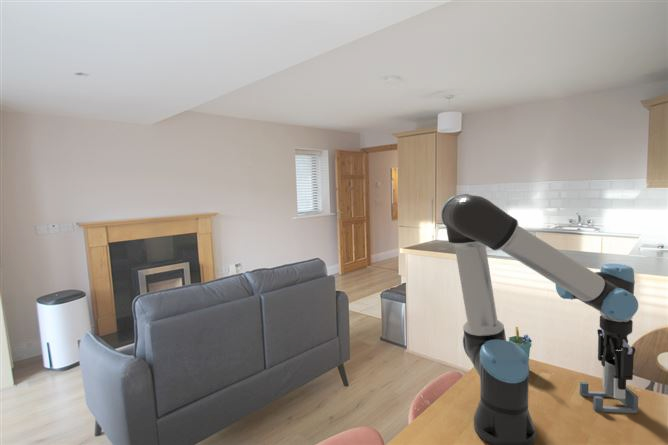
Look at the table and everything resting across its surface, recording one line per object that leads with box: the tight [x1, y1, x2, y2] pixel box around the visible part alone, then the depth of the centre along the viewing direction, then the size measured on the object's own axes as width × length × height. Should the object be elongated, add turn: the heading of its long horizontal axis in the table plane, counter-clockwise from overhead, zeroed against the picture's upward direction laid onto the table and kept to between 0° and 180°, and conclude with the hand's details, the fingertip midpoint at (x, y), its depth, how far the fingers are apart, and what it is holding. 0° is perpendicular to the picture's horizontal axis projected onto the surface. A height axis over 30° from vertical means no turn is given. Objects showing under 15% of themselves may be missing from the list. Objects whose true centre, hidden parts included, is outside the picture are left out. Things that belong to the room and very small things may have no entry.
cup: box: [508, 326, 533, 363], centre depth 126 cm, size 14×8×15 cm, turn 176°
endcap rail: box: [579, 381, 639, 414], centre depth 106 cm, size 11×8×5 cm
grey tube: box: [603, 358, 616, 399], centre depth 105 cm, size 4×4×10 cm
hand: (613, 392), depth 105 cm, fingers closed on grey tube, 4 cm apart
